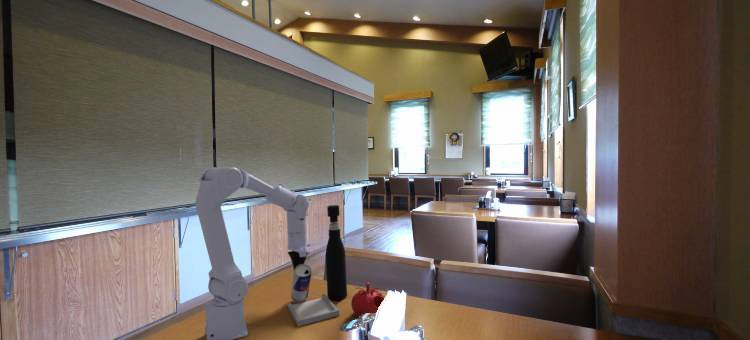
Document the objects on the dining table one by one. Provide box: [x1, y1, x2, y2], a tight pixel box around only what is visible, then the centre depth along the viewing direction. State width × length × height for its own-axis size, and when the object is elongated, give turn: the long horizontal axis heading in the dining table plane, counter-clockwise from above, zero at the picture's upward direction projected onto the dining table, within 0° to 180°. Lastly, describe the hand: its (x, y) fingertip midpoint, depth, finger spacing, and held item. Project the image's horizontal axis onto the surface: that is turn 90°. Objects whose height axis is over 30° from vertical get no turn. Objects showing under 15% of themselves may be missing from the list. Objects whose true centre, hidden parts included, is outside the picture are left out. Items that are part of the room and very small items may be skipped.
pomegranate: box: [350, 282, 386, 318], centre depth 92 cm, size 10×10×9 cm
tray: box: [286, 293, 340, 327], centre depth 96 cm, size 12×14×2 cm
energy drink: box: [290, 263, 312, 303], centre depth 101 cm, size 5×5×12 cm
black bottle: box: [325, 204, 348, 302], centre depth 105 cm, size 6×6×30 cm
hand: (298, 273), depth 103 cm, fingers closed
